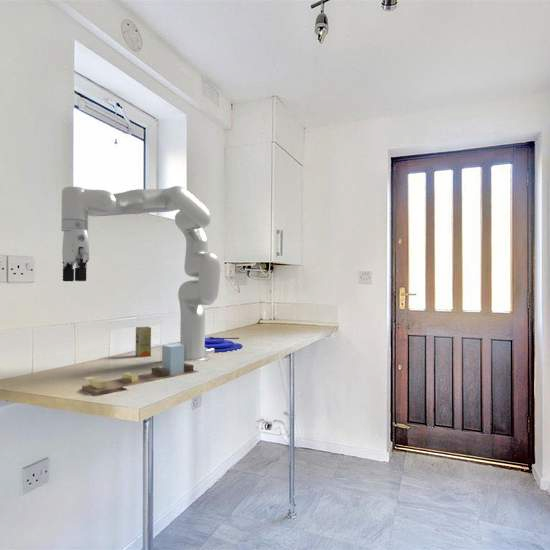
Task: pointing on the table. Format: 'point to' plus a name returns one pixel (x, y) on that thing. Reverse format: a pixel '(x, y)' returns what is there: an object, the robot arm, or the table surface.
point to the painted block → (173, 358)
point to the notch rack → (130, 380)
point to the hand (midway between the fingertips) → (74, 281)
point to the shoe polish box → (143, 341)
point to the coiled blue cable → (221, 344)
